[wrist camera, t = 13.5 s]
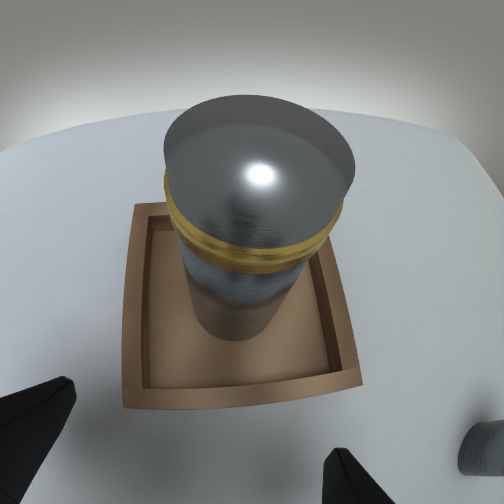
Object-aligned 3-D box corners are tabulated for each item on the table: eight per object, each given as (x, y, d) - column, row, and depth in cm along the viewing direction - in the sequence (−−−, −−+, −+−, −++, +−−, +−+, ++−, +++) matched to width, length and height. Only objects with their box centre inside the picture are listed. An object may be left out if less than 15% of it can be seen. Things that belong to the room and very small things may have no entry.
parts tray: (135, 407, 15) (123, 407, 12) (141, 224, 21) (134, 203, 19) (345, 388, 17) (362, 384, 15) (308, 219, 24) (317, 200, 22)
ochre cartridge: (216, 359, 17) (214, 263, 5) (177, 284, 19) (136, 117, 8) (293, 317, 19) (395, 182, 7) (249, 250, 21) (285, 85, 10)
